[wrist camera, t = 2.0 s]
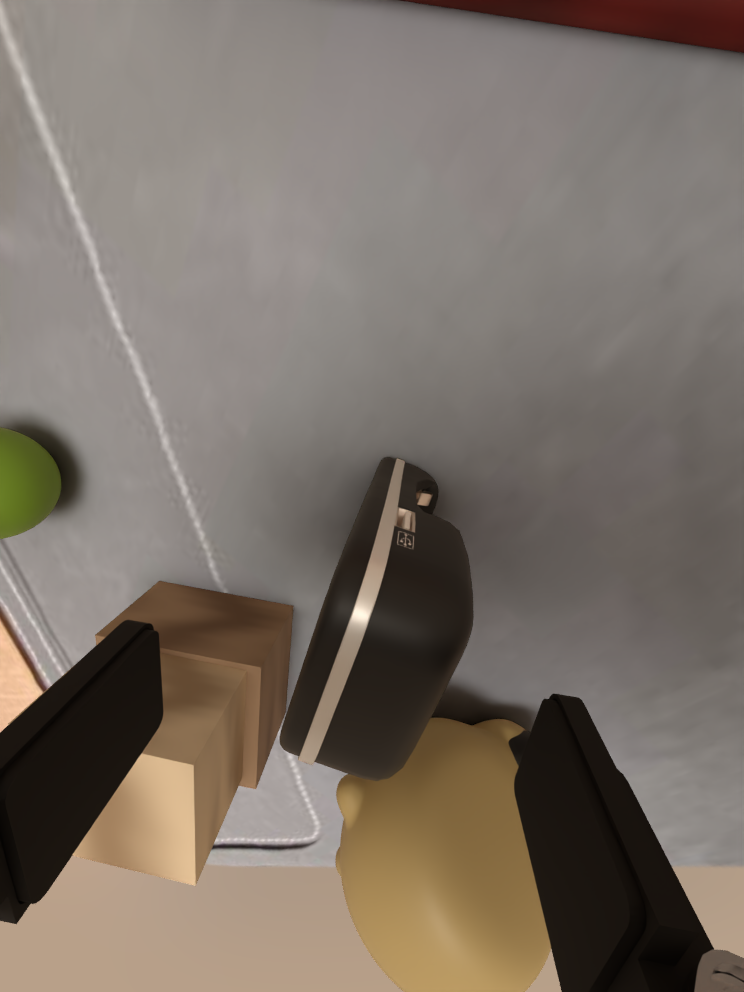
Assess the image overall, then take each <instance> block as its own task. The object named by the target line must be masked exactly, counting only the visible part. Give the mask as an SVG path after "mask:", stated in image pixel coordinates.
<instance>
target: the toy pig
mask: <svg viewBox="0 0 744 992" xmlns="http://www.w3.org/2000/svg"><path fill="white" fill-rule="evenodd" d="M530 734H531V732H528V731H526V730H525V729H524V728H523V727H521V726H520V725H518V724H516V723H514V722H512V721H509V720H505V719H493V720H488V721H484V722H480V723H477V724H475V725H472V726H471V725H468V724H465V723H462V722H459V721H456V720H451V719H446V718H430V720H429V722H428V724H427V726H426V728H425V730H424V732H423V733H422V735H421V737H420V739H419V741H418V743H417V745H416V747H415V749H414V750H413V752H412V754H411V755H410V757H409V759H408V760H407V762H406V764H405V765H404V767H403V768H402V769H401V770H399V771H398V772H397V773H396V774H394V775H393V776H392V777H390V778H389V779H384V780H379V781H373V780H368V779H363V778H359V777H356V776H353V775H351V774H347V775H345V776H344V777H343V778H342V779H341V780H340V782H339V784H338V787H337V792H336V796H337V802H338V805H339V808H340V810H341V813H342V815H343V817H344V821H343V826H342V833H341V843H340V847H339V849H338V851H337V854H336V868H337V871H338V873H339V874H340V876H341V878H342V885H343V890H344V894H345V899H346V902H347V906H348V909H349V912H350V915H351V918H352V920H353V922H354V925H355V927H356V929H357V932H358V933H359V936H360V937H361V939H362V941H363V943H364V945H365V946H366V948H367V950H368V951H369V953H370V954H371V956H372V957H373V959H374V960H375V962H376V963H377V964H378V966H379V967H380V968H381V969H382V970H383V971H384V972H385V974H386V975H387V976H388V977H389V978H390V979H391V980H392V981H393V982H394V983H395V984H396V985H397V986H398V987H399V988H400V989H401V990H402V991H404V992H525V991H526V990H527V989H528V988H529V987H530V985H531V984H532V983H533V982H534V980H535V979H536V977H537V976H538V974H539V973H540V971H541V970H542V968H543V966H544V964H545V962H546V960H547V957H548V955H549V952H550V949H551V944H550V940H549V936H548V932H547V928H546V923H545V919H544V915H543V911H542V907H541V903H540V898H539V894H538V890H537V886H536V882H535V878H534V873H533V869H532V865H531V861H530V857H529V852H528V848H527V844H526V840H525V836H524V832H523V827H522V823H521V819H520V815H519V811H518V807H517V802H516V798H515V793H514V779H515V775H516V772H517V770H518V767H519V764H520V761H521V759H522V756H523V753H524V750H525V748H526V745H527V742H528V739H529V736H530Z"/></svg>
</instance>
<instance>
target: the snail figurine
mask: <svg viewBox="0 0 744 992" xmlns="http://www.w3.org/2000/svg"><path fill="white" fill-rule="evenodd" d="M60 492H61V476H60V472H59V469H58V467H57V465H56V463H55V461H54V459H53V458H52V457H51V455H50V454H49V453H48V452H47V451H46V450H45V449H44V448H43V447H42V446H41V445H40V444H38V443H37V442H35V441H34V440H32V439H31V438H29V437H27V436H25V435H23V434H21V433H18V432H15V431H12V430H9V429H5V428H1V427H0V539H3V538H7V537H11V536H15V535H18V534H20V533H23V532H25V531H27V530H29V529H31V528H33V527H35V526H36V525H38V524H39V523H40V522H42V521H43V520H44V519H45V518H46V517H47V516H48V515H49V514H50V513H51V511H52V510H53V509H54V507H55V505H56V504H57V501H58V499H59V496H60Z"/></svg>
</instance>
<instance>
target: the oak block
mask: <svg viewBox="0 0 744 992" xmlns="http://www.w3.org/2000/svg"><path fill="white" fill-rule="evenodd" d="M160 660H161V677H162V694H163V711H164V712H163V719H162V722H161V724H160V726H159V728H158V730H157V731H156V733H155V734H154V736H153V737H152V739H151V740H150V742H149V743H148V745H147V746H146V748H145V749H144V751H143V752H142V754H141V755H140V756H139V758H138V759H137V761H136V762H135V764H134V765H133V767H132V768H131V770H130V771H129V773H128V774H127V776H126V777H125V778H124V780H123V781H122V783H121V784H120V786H119V787H118V789H117V790H116V792H115V793H114V795H113V796H112V798H111V799H110V801H109V802H108V803H107V805H106V806H105V808H104V809H103V811H102V812H101V814H100V815H99V817H98V818H97V820H96V821H95V823H94V824H93V825H92V827H91V828H90V830H89V831H88V833H87V834H86V836H85V837H84V839H83V840H82V842H81V843H80V845H79V846H78V848H77V849H76V850H75V852H74V853H73V855H72V856H76V857H80V858H84V859H88V860H92V861H96V862H100V863H105V864H109V865H113V866H117V867H121V868H125V869H129V870H133V871H138V872H142V873H146V874H150V875H154V876H158V877H162V878H166V879H170V880H175V881H178V882H183V883H187V884H191V885H196V884H197V881H198V879H199V877H200V874H201V872H202V870H203V867H204V865H205V863H206V860H207V858H208V856H209V853H210V851H211V849H212V846H213V844H214V842H215V839H216V837H217V835H218V832H219V830H220V828H221V825H222V823H223V821H224V818H225V816H226V814H227V811H228V809H229V807H230V804H231V802H232V800H233V797H234V795H235V793H236V791H237V788H238V786H239V784H240V781H241V779H242V770H243V747H244V724H245V700H246V677H247V671H246V670H241V669H236V668H232V667H227V666H222V665H217V664H212V663H207V662H202V661H198V660H193V659H188V658H183V657H178V656H173V655H168V654H164V653H160ZM74 666H75V665H74ZM74 666H73V667H74ZM66 673H67V672H66ZM66 673H65V674H66ZM65 674H64V675H65ZM64 675H63V676H64ZM63 676H62V677H63ZM57 681H58V680H57ZM49 688H50V687H49ZM49 688H48V689H49ZM48 689H47V690H48ZM47 690H46V691H47ZM40 696H41V695H40ZM40 696H39V697H40ZM39 697H38V698H39ZM38 698H37V699H38ZM37 699H36V700H37ZM36 700H35V701H36ZM35 701H34V702H35ZM32 703H33V702H32ZM32 703H31V704H32ZM31 704H30V705H31ZM30 705H29V706H30ZM29 706H28V707H29ZM28 707H27V708H28ZM27 708H26V709H27ZM26 709H25V710H26ZM25 710H23V711H22V712H24V711H25ZM22 712H21V713H22ZM21 713H20V714H21ZM20 714H19V715H20ZM19 715H18V716H19ZM18 716H17V717H18ZM17 717H15V718H14V719H13V720H12V721H11V722H13V721H14V720H15V719H16V718H17ZM11 722H10V723H11ZM10 723H9V724H10ZM9 724H8V725H9Z"/></svg>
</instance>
